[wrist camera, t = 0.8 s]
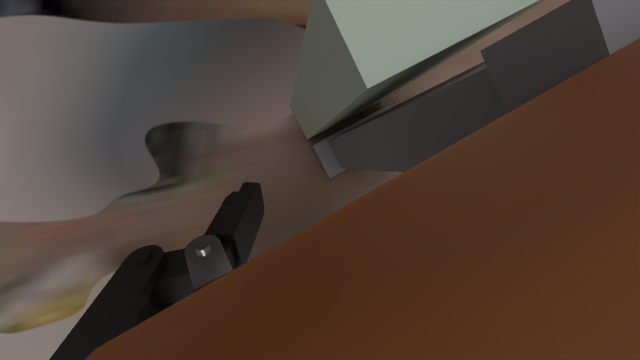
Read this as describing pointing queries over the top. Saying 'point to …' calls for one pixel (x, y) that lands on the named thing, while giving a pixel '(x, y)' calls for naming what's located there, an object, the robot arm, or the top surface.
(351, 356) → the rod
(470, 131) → the tall stand
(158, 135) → the top surface
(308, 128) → the pale green tall block
